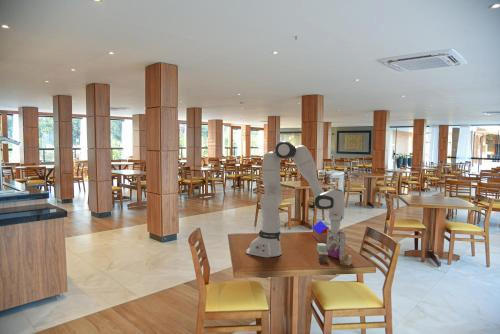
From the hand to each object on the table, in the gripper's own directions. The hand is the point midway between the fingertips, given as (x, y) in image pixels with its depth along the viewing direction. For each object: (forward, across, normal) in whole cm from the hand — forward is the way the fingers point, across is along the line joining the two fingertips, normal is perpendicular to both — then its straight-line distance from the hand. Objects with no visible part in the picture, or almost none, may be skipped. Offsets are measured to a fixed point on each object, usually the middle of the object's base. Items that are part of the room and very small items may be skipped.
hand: (335, 237), depth 210 cm
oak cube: (+12, +11, +7) cm, 18 cm away
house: (+13, -39, -12) cm, 42 cm away
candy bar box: (+12, 0, 0) cm, 12 cm away
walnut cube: (+12, +11, -6) cm, 18 cm away
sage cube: (+12, -7, -9) cm, 17 cm away
